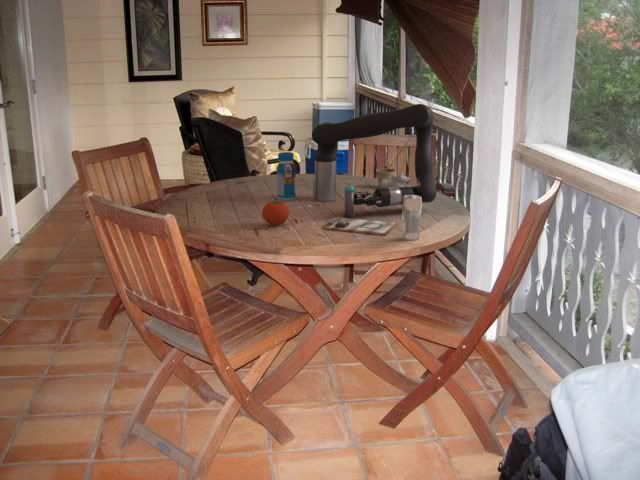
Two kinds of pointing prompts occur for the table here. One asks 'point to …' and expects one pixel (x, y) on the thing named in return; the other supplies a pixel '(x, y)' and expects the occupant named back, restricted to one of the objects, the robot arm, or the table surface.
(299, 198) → the table surface
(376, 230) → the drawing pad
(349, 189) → the marker
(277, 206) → the tomato
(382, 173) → the flower pot
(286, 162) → the beverage bottle
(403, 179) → the dog figurine
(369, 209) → the table surface
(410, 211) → the beer glass
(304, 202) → the table surface
